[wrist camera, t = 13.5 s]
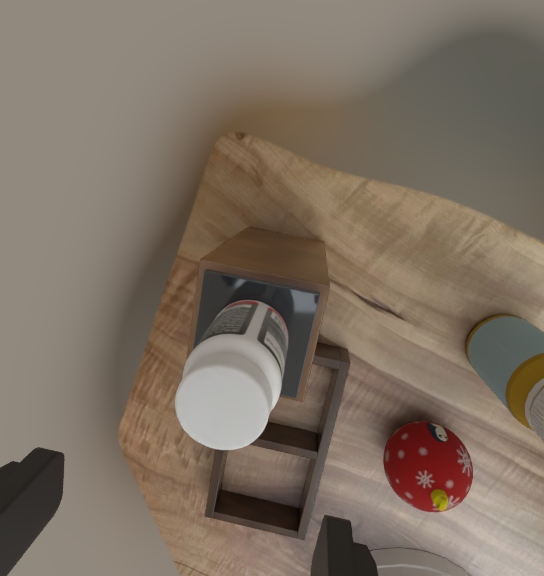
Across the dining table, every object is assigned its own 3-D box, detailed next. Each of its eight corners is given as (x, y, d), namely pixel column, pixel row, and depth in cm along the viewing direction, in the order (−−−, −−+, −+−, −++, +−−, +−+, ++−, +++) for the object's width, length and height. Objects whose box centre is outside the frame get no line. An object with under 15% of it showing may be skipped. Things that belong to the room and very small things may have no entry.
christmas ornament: (368, 459, 47) (381, 530, 38) (391, 396, 45) (412, 455, 35) (440, 479, 47) (472, 556, 37) (467, 417, 45) (509, 482, 35)
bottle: (549, 337, 41) (675, 421, 27) (501, 387, 43) (594, 489, 29) (495, 299, 41) (593, 363, 27) (449, 351, 43) (517, 437, 28)
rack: (211, 494, 51) (204, 516, 47) (240, 326, 45) (234, 338, 41) (305, 516, 50) (304, 540, 47) (347, 349, 44) (350, 363, 41)
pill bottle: (202, 353, 25) (149, 434, 17) (227, 286, 24) (183, 339, 16) (272, 382, 25) (252, 475, 17) (301, 316, 24) (294, 384, 16)
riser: (236, 299, 44) (183, 376, 27) (248, 226, 42) (199, 258, 24) (308, 314, 43) (303, 402, 26) (324, 241, 41) (330, 285, 24)
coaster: (192, 370, 26) (189, 375, 26) (206, 268, 25) (204, 270, 24) (297, 394, 26) (296, 398, 25) (320, 291, 24) (320, 294, 24)
